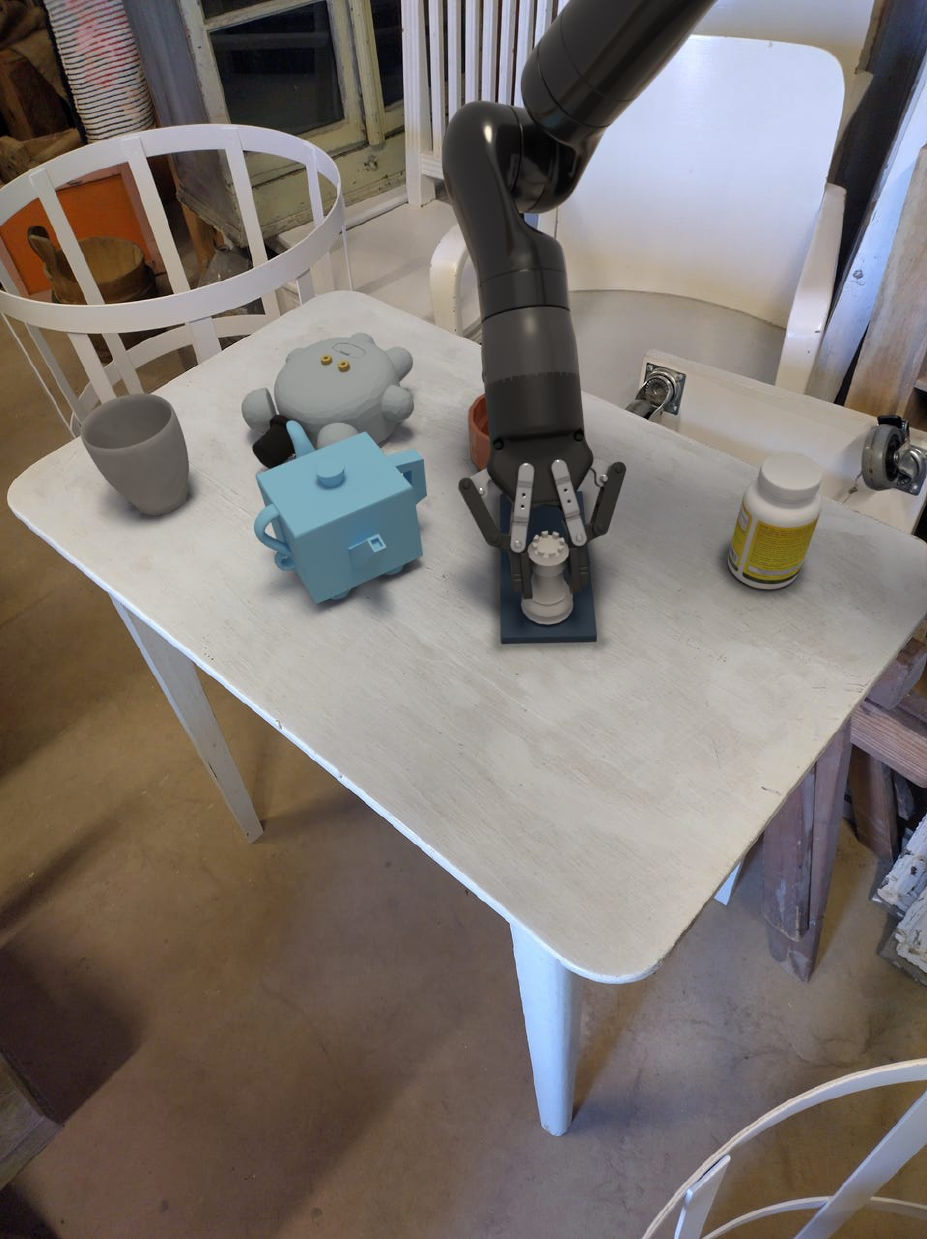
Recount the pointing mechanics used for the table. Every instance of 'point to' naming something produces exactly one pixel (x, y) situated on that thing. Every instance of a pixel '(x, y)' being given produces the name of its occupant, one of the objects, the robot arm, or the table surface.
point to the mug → (140, 451)
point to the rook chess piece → (548, 580)
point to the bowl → (479, 432)
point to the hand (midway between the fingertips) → (551, 594)
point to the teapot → (342, 512)
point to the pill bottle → (776, 521)
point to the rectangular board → (512, 617)
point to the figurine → (331, 396)
